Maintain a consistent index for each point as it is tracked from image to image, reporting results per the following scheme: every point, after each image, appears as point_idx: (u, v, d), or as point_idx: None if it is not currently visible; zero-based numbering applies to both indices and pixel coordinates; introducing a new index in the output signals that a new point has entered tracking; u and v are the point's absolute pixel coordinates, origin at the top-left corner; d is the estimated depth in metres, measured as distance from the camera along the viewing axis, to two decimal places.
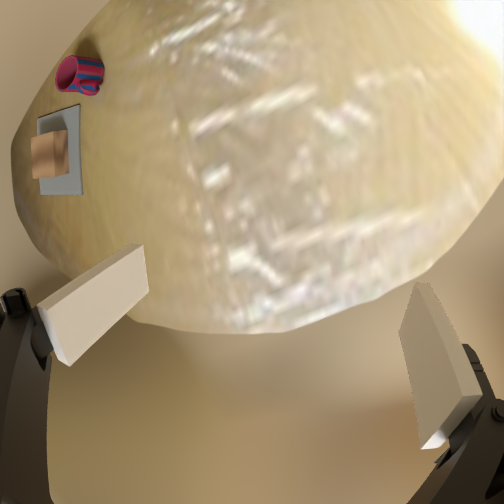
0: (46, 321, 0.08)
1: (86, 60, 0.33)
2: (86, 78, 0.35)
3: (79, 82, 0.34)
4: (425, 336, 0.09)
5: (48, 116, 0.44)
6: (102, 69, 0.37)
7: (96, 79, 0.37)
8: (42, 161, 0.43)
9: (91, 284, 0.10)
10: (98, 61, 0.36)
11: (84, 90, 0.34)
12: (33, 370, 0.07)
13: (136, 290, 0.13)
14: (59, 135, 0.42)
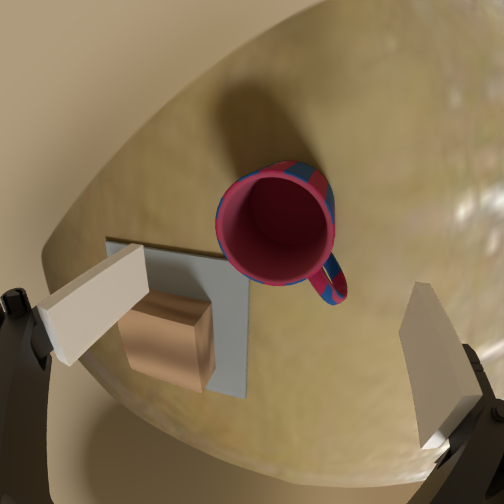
0: (46, 321, 0.08)
1: (327, 193, 0.16)
2: None
3: (323, 273, 0.17)
4: (425, 336, 0.09)
5: None
6: (334, 204, 0.20)
7: None
8: (160, 359, 0.26)
9: (91, 284, 0.10)
10: (324, 180, 0.19)
11: (340, 300, 0.17)
12: (33, 370, 0.07)
13: (136, 290, 0.13)
14: (202, 324, 0.25)
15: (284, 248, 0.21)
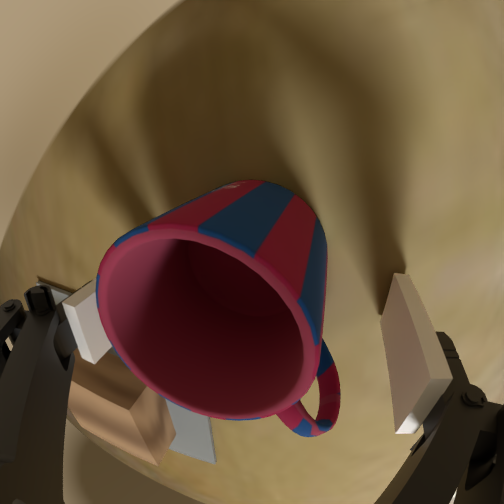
0: (72, 318, 0.09)
1: (310, 258, 0.08)
2: None
3: (297, 402, 0.08)
4: (401, 323, 0.09)
5: None
6: None
7: None
8: (105, 428, 0.18)
9: None
10: (310, 215, 0.11)
11: None
12: (55, 370, 0.07)
13: None
14: (144, 402, 0.16)
15: (242, 325, 0.13)
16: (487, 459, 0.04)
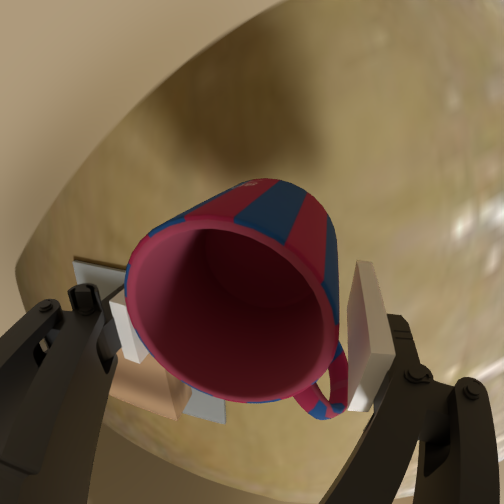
0: (120, 317, 0.09)
1: (327, 249, 0.09)
2: None
3: (313, 384, 0.09)
4: (357, 306, 0.11)
5: (107, 272, 0.24)
6: None
7: None
8: (132, 386, 0.23)
9: None
10: (322, 212, 0.12)
11: None
12: (95, 375, 0.07)
13: None
14: None
15: (257, 316, 0.14)
16: (445, 443, 0.05)
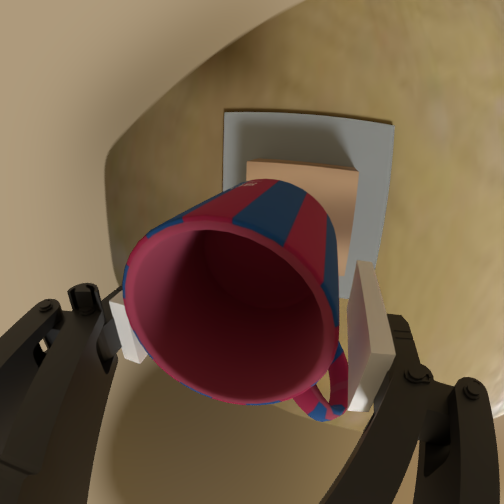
0: (120, 317, 0.09)
1: (327, 250, 0.09)
2: None
3: (313, 386, 0.09)
4: (357, 306, 0.11)
5: (276, 116, 0.24)
6: None
7: None
8: None
9: None
10: (322, 212, 0.12)
11: (339, 415, 0.09)
12: (95, 375, 0.07)
13: None
14: None
15: (256, 317, 0.14)
16: (445, 444, 0.05)
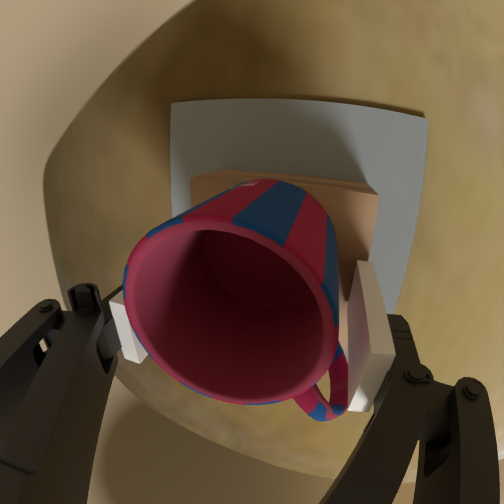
0: (120, 317, 0.09)
1: (327, 250, 0.09)
2: None
3: (313, 385, 0.09)
4: (357, 306, 0.11)
5: (244, 104, 0.15)
6: None
7: None
8: None
9: None
10: (322, 212, 0.12)
11: (339, 415, 0.09)
12: (95, 375, 0.07)
13: None
14: None
15: (256, 317, 0.14)
16: (445, 443, 0.05)
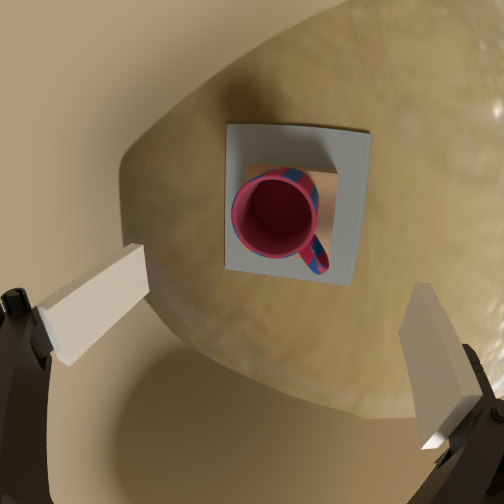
0: (46, 321, 0.08)
1: (312, 191, 0.23)
2: None
3: (310, 249, 0.23)
4: (425, 336, 0.09)
5: (270, 127, 0.29)
6: None
7: None
8: None
9: (91, 284, 0.10)
10: (311, 181, 0.26)
11: (323, 270, 0.23)
12: (33, 370, 0.07)
13: (136, 290, 0.13)
14: None
15: (280, 234, 0.27)
16: None
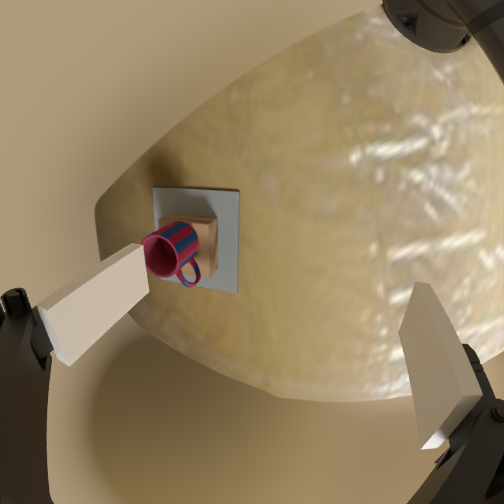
0: (46, 321, 0.08)
1: (182, 240, 0.40)
2: (185, 262, 0.41)
3: (181, 273, 0.40)
4: (425, 336, 0.09)
5: (176, 190, 0.47)
6: (197, 241, 0.44)
7: (192, 256, 0.44)
8: None
9: (91, 284, 0.10)
10: (190, 230, 0.43)
11: (190, 285, 0.41)
12: (33, 370, 0.07)
13: (136, 290, 0.13)
14: (212, 227, 0.45)
15: (176, 261, 0.45)
16: None
